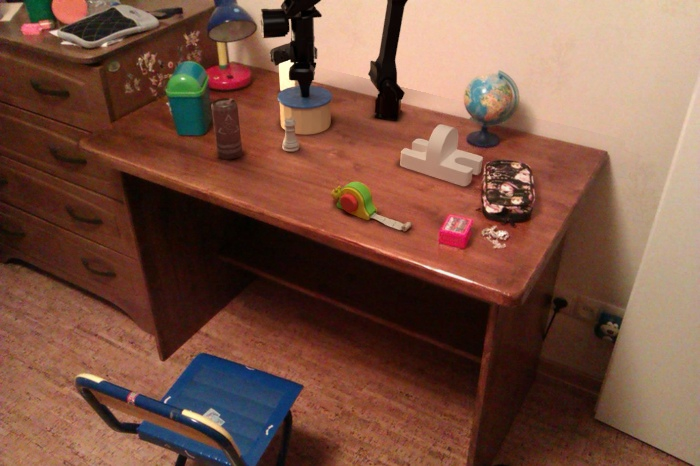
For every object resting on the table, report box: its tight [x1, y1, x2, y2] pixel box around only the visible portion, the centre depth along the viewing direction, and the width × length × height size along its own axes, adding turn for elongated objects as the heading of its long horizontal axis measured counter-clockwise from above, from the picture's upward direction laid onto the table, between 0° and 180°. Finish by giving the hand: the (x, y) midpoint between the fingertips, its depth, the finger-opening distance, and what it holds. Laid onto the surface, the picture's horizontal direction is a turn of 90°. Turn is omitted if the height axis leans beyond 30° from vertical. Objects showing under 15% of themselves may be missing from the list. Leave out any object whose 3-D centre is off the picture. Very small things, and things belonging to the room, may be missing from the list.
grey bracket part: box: [399, 123, 484, 187], centre depth 144 cm, size 10×18×11 cm, turn 56°
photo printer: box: [278, 60, 299, 92], centre depth 179 cm, size 10×4×12 cm, turn 35°
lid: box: [276, 85, 333, 109], centre depth 161 cm, size 15×15×6 cm
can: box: [211, 97, 243, 161], centre depth 147 cm, size 6×6×14 cm
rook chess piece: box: [281, 118, 300, 153], centre depth 152 cm, size 4×4×8 cm
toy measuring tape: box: [331, 181, 412, 233], centre depth 128 cm, size 6×20×7 cm, turn 55°
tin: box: [279, 100, 332, 136], centre depth 164 cm, size 14×14×8 cm
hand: (304, 93), depth 161 cm, fingers closed on lid, 2 cm apart
